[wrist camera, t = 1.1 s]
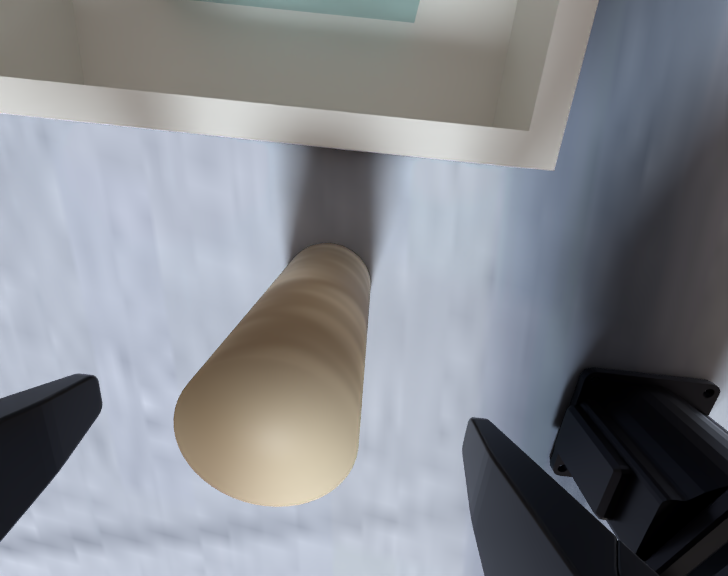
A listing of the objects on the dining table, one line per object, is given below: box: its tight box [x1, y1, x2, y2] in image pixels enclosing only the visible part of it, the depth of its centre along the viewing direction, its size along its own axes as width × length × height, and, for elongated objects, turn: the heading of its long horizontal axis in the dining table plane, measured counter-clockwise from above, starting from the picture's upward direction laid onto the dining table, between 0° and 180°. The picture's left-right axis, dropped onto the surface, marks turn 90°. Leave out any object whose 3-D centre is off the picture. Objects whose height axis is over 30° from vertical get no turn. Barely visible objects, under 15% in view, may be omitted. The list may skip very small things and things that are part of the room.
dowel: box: [174, 243, 371, 507], centre depth 13 cm, size 4×4×10 cm
